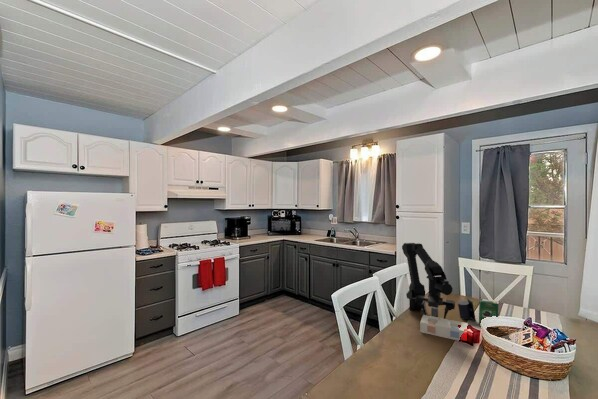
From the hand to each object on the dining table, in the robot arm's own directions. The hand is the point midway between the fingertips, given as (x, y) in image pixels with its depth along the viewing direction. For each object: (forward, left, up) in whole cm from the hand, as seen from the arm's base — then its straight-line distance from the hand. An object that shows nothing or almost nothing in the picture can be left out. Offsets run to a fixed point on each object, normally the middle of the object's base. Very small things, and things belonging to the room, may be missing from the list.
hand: (434, 317), depth 149 cm
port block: (+5, -10, -2) cm, 11 cm away
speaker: (+14, +14, -3) cm, 20 cm away
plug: (0, 0, -2) cm, 2 cm away
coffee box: (+24, +8, -3) cm, 25 cm away
